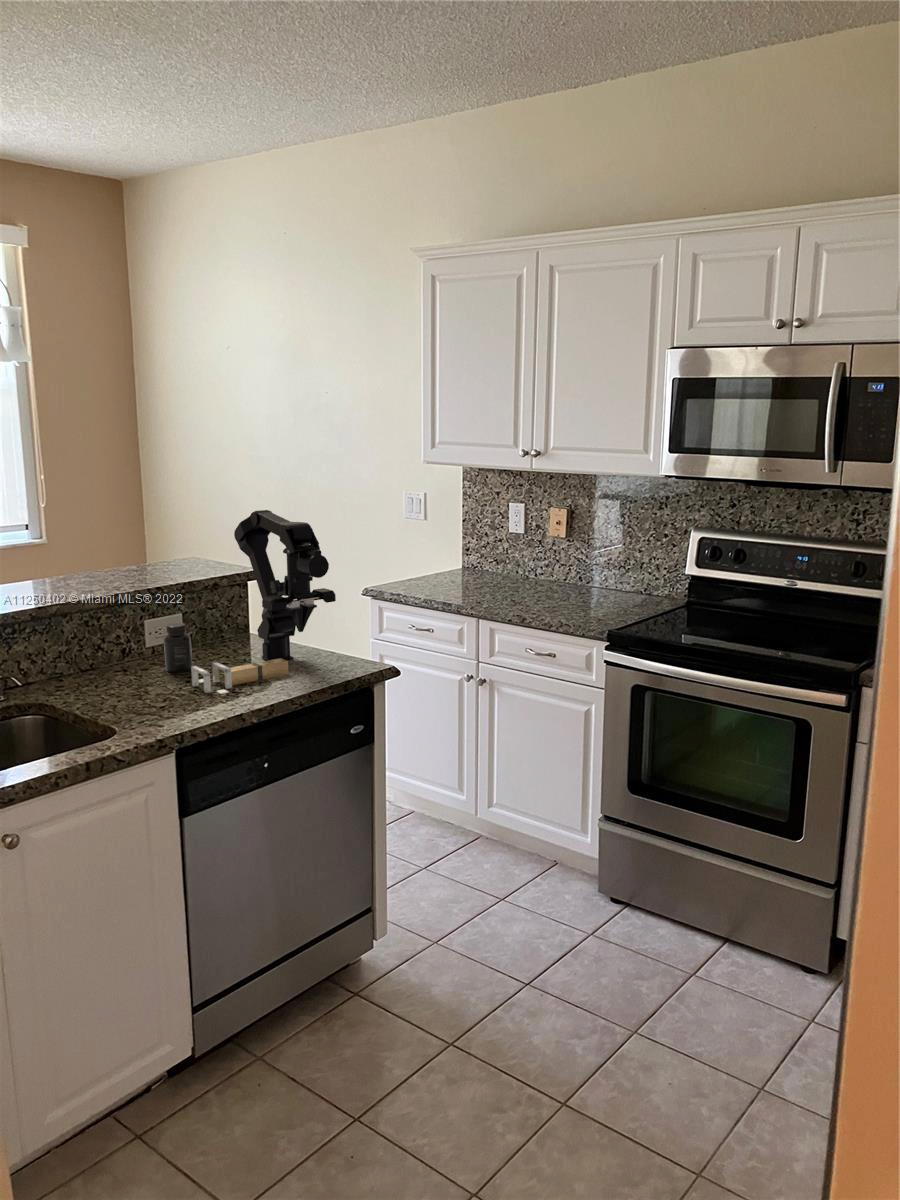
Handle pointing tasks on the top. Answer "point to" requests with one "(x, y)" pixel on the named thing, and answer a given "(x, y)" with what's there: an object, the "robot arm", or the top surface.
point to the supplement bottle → (177, 648)
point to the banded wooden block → (259, 671)
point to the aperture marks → (218, 690)
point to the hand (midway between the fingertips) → (300, 631)
